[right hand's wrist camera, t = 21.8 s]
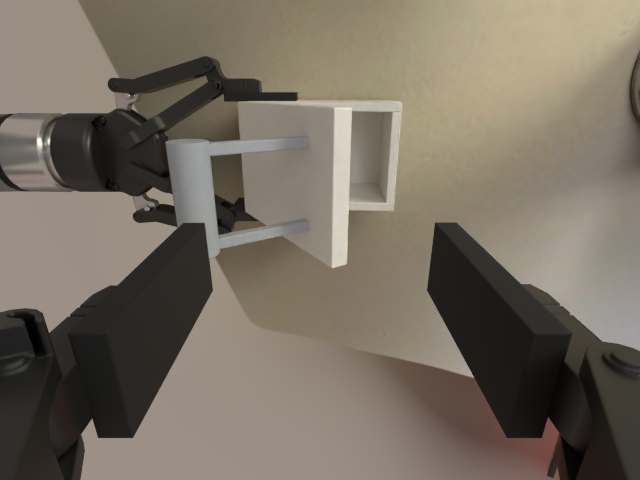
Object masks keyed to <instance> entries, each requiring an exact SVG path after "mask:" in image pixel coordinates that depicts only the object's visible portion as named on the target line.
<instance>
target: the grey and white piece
mask: <svg viewBox="0 0 640 480" xmlns="http://www.w3.org/2000/svg"><path fill="white" fill-rule="evenodd" d="M237 104H238V117H239V131H240V140H232V141H216V142H209V141H208V140H205V139H177V140H170V141H166V142H165V144H166V151H167V158H168V165H169V171H170V178H171V185H172V192H173V199H174V206H175V213H176V220H177V227H179V226H181V225H182V224H183V223H205V229H206V237H207V246H208V254H209V259H211V258H214V257H216V256H217V255H218V254H219V253H220V249H223V248H228V247H232V246H237V245H242V244H247V243H251V242H256V241H261V240H265V239H270V238H275V237H279V236H283V237H284V238H286V239H287V240H289V241H290V242H292V243H293V244H295V245H297V246H298V247H300V248H301V249H303V250H304V251H306V252H307V253H309V254H310V255H312V256H313V257H315V258H316V259H318V260H319V261H321V262H322V263H324V264H325V265H327V266H328V267H330V268H336V267H340V266H343V265H346V264H347V245H348V215H349V185H350V154H351V124H352V108H351V107H339V106H321V105H304V104H286V103H268V102H251V101H250V102H237ZM232 154H241V158H242V172H243V186H244V200H245V212H247V213H248V214H250V215H251V216H253V217H254V218H256V219H257V220H259V221H260V222H262V223H263V224H265V225H266V226H262V227H257V228H252V229H247V230H242V231H236V232H231V233H226V234H221V235H218V226H217V217H216V207H215V197H214V187H213V178H212V168H211V158H210V156H220V155H232Z"/></svg>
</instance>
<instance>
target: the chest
mask: <svg viewBox="0 0 640 480" xmlns="http://www.w3.org/2000/svg"><path fill="white" fill-rule="evenodd" d="M247 102H250V101H247ZM251 102H268V103H286V104H304V105H321V106H339V107H351V108H352V124H351V154H350V185H349V210H357V211H394V202H395V189H396V177H397V164H398V152H399V139H400V126H401V114H402V113H401V111H402V102H398V101H392V100H298V101H251Z"/></svg>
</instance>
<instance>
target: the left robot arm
mask: <svg viewBox="0 0 640 480" xmlns="http://www.w3.org/2000/svg"><path fill="white" fill-rule="evenodd" d="M203 76H206V77H207V79H208V81H209V82H208V83H206V84H204V85H203V86H201V87H200V88H198V89H197V90H195V91H194V92H192V93H191V94H189V95H188V96H186V97H184V98H183V99H181V100H180V101H178V102H177V103H175V104H174V105H172V106H171V107H169V108H168V109H166V110H164V111H163V112H161V113H160V114H158V115H156V116H154V117H152V118H150V119H149V120H147V119H146V118H144V117H143V116H141V115H140V114H138V113H137V112H135V111H134V110H132V109H131V108H132V105H133V103H135V102H139V101H140V100H141V97H142V95H141V93H152V92H155V91H159V90H162V89H165V88H168V87H171V86H175V85H178V84H181V83H184V82H187V81H190V80H194V79H197V78H200V77H203ZM108 87H109V89H110V90H111V91H113V92H115V100H116V108H117V109H115V110H113V111H112V112H110V113H69V114H65V115H63V114H49V113H48V114H46V113H43V114H42V113H41V114H40V113H18V114H0V192H1V191H50V192H71V191H75V190H76V191H80V192H124V193H126V194H128V195H130V196H133V199H134V203H135V207H136V210H137V211H136V212H135V213H134V214H133V219H134V220H135V221H136V222H139V223H144V222H160V223H164V224H168V225H172V226H176V227H177V220H176V213H175V206H171V205H167V204H159V202H158V201H157V200H155V199H151V198H149V197H148V196H147V195H146V192H148V191H149V190H150V189H151V188H152V187H154V188H156V189H158V190H160V191H162V192H165V193H171V194H173V192H172V185H171V178H170V171H169V165H168V158H167V151H166V144H165V142H166V141H168V136H165V134H164V132H165V131H167V130H169V129H170V128H172V127H173V126H174V125H175V124H177V123H178V122H180V121H182V120H183V119H185V118H186V117H188V116H189V115H191V114H193V113H194V112H196V111H197V110H199V109H200V108H202V107H203V106H205V105H207V104H208V103H210V102H211V101H213V100H214V99H216V98H218V97H219V96H221V95H222V94H224V101H298V92H262V88H261V81H259V80H256V79H228V78H226V77H225V76H224V75H223V73H222V71H221V68H220V63H219V61H217V60H216V59H214V58H210V57H207V56H205V57H201V58H198V59H195V60H192V61H189V62H186V63H183V64H179V65H176V66H173V67H170V68H167V69H164V70H161V71H158V72H154V73H151V74H148V75H145V76H142V77H139V78H136V79H122V78H111V79H110V80H109V81H108ZM214 197H215V207H216V217H217V226H218V235H221V234H226V233H231V232H232V230H233V228H234V224H235V222H236V221H259V220H257V219H256V218H254V217H253V216H251V215H250V214H248V213H247V212H245V200H244V198H238V200H237V201H236V202H235V204H232V203H230V202H229V201H227V200H225V199H223V198H221V197H219V196H217V195H215V194H214Z"/></svg>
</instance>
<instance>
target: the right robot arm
mask: <svg viewBox="0 0 640 480" xmlns="http://www.w3.org/2000/svg"><path fill="white" fill-rule="evenodd" d="M631 97H632V104H633V109H634V112H635V114H636V117H637V119H638V120H639V122H640V55H639V58H638V60H637V63H636V66H635V69H634V73H633V78H632V85H631ZM212 291H213V288H212V279H211V271H210V262H209V254H208V246H207V237H206V229H205V223H183V224H182V225H181V226H179V227H178V228H177V229H176V230H175V231H174V232H173V233H172V234H171V235H170V236H169V237H168V238H167V239H166V240H165V241H164V242H163V243H162V244H161V245H160V246H159V247H157V248H156V249H155V250H154V251H153V252H152V253H151V254H150V255H149V256H148V257H147V258H146V259H145V260H144V261H143V262H142V263H141V264H140V265H139V266H138V267H137V268H135V269H134V270H133V271H132V272H131V273H130V274H129V275H128V276H127V277H126V278H125V279H124V280H123V281H122V282H121V283H120V284H119V285H118V286H109V287H107V288H105V289H103V290H101V291H99V292H97V293H95V294H93V295H92V296H91V297H89V298H88V299H87V300H86V301H85V302H84V303H83V304H82V305H81V307H80V308H77V309H76V310H75V311H74V312H73V313H71V314H70V317H67V318H66V319H65V320H64V321H62V322H61V323H60V324H59V325H58V326H57V327H56V328H55V329H53V330H52V331H51V332H50V333H49V332H48V329H47V325H46V322H45V319H44V316H43V313H41V312H40V311H38V310H36V309H26V308H25V309H15V310H8V311H4V312H1V313H0V480H80V478H81V472H82V465H83V459H84V452H85V449H84V442H83V439H82V436H81V433H82V432H83V431H84V429H85V428H86V426H87V425H88V423H89V422H90V420H91V419H92V418H93V422H94V425H95V428H96V432H97V435H98V438H133V437H134V435H135V433H136V431H137V429H138V428H139V426H140V424H141V422H142V420H143V418H144V416H145V415H146V413H147V411H148V409H149V407H150V405H151V403H152V402H153V400H154V398H155V396H156V394H157V392H158V390H159V389H160V387H161V385H162V383H163V381H164V379H165V378H166V376H167V374H168V372H169V370H170V368H171V367H172V365H173V363H174V361H175V359H176V357H177V356H178V354H179V352H180V350H181V348H182V346H183V344H184V343H185V341H186V339H187V337H188V335H189V333H190V332H191V330H192V328H193V326H194V324H195V322H196V320H197V319H198V317H199V315H200V313H201V311H202V309H203V307H204V306H205V304H206V302H207V300H208V298H209V296H210V295H211V293H212ZM427 291H428V293H429V295H430V296H431V298H432V300H433V302H434V304H435V306H436V308H437V309H438V311H439V313H440V315H441V317H442V319H443V320H444V322H445V324H446V326H447V328H448V330H449V332H450V333H451V335H452V337H453V339H454V341H455V343H456V344H457V346H458V348H459V350H460V352H461V354H462V356H463V357H464V359H465V361H466V363H467V365H468V367H469V368H470V370H471V372H472V374H473V376H474V378H475V380H476V381H477V383H478V385H479V387H480V389H481V391H482V392H483V394H484V396H485V398H486V400H487V402H488V404H489V405H490V407H491V409H492V411H493V413H494V415H495V416H496V418H497V420H498V422H499V424H500V426H501V428H502V429H503V431H504V433H505V435H506V437H507V438H542V435H543V432H544V429H545V425H546V422H547V418H548V417H549V418H550V420H551V421H552V423H553V424H554V426H555V427H556V428H557V430H558V431H559V436H558V439H557V443H556V445H555V449H554V452H553V455H552V458H551V461H550V464H549V468H548V474H547V476H549V477H552V478H553V477H554V474H555V471H556V469H557V468H558V470H559V477H560V480H640V351H638V350H636V349H633V348H630V347H627V346H623V345H620V344H615V343H607V342H602V341H601V340H600V339H599V338H598V337H597V336H595V335H594V334H593V333H592V332H591V331H590V330H589V329H588V328H586V327H585V326H584V325H583V324H582V323H581V322H580V321H578V320H577V319H576V318H575V317H574V316H573V315H570V313H569V312H568V311H567V310H566V309H565V308H564V307H563V306H560V304H559V303H558V302H557V301H556V300H555V299H554V298H552V297H551V296H550V295H549V294H548V293H546V292H544V291H542V290H540V289H538V288H536V287H534V286H532V285H530V284H520V283H519V282H518V281H517V280H516V279H515V278H514V277H513V276H512V275H511V274H510V273H509V272H508V271H507V270H506V269H505V268H504V267H502V266H501V265H500V264H499V263H498V262H497V261H496V260H495V259H494V258H493V257H492V256H491V255H490V254H489V253H488V252H487V251H486V250H485V249H484V248H483V247H481V246H480V245H479V244H478V243H477V242H476V241H475V240H474V239H473V238H472V237H471V236H470V235H469V234H468V233H467V232H466V231H465V230H464V229H463V228H462V227H461V226H459V225H458V224H457V223H435V229H434V237H433V246H432V254H431V262H430V271H429V279H428V288H427Z"/></svg>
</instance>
